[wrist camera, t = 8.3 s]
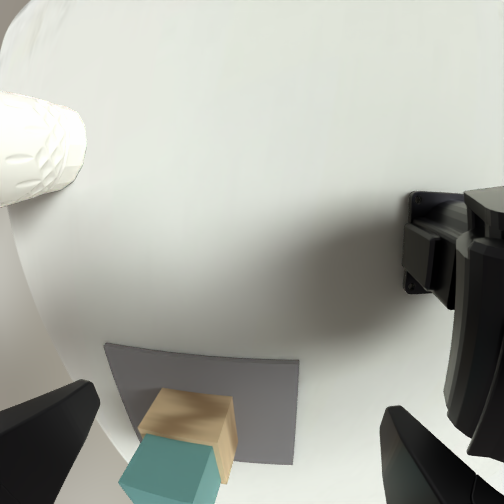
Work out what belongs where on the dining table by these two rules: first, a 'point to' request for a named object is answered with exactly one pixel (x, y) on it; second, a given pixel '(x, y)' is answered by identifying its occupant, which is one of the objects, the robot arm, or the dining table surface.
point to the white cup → (37, 147)
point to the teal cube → (171, 473)
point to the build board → (217, 383)
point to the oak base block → (195, 423)
